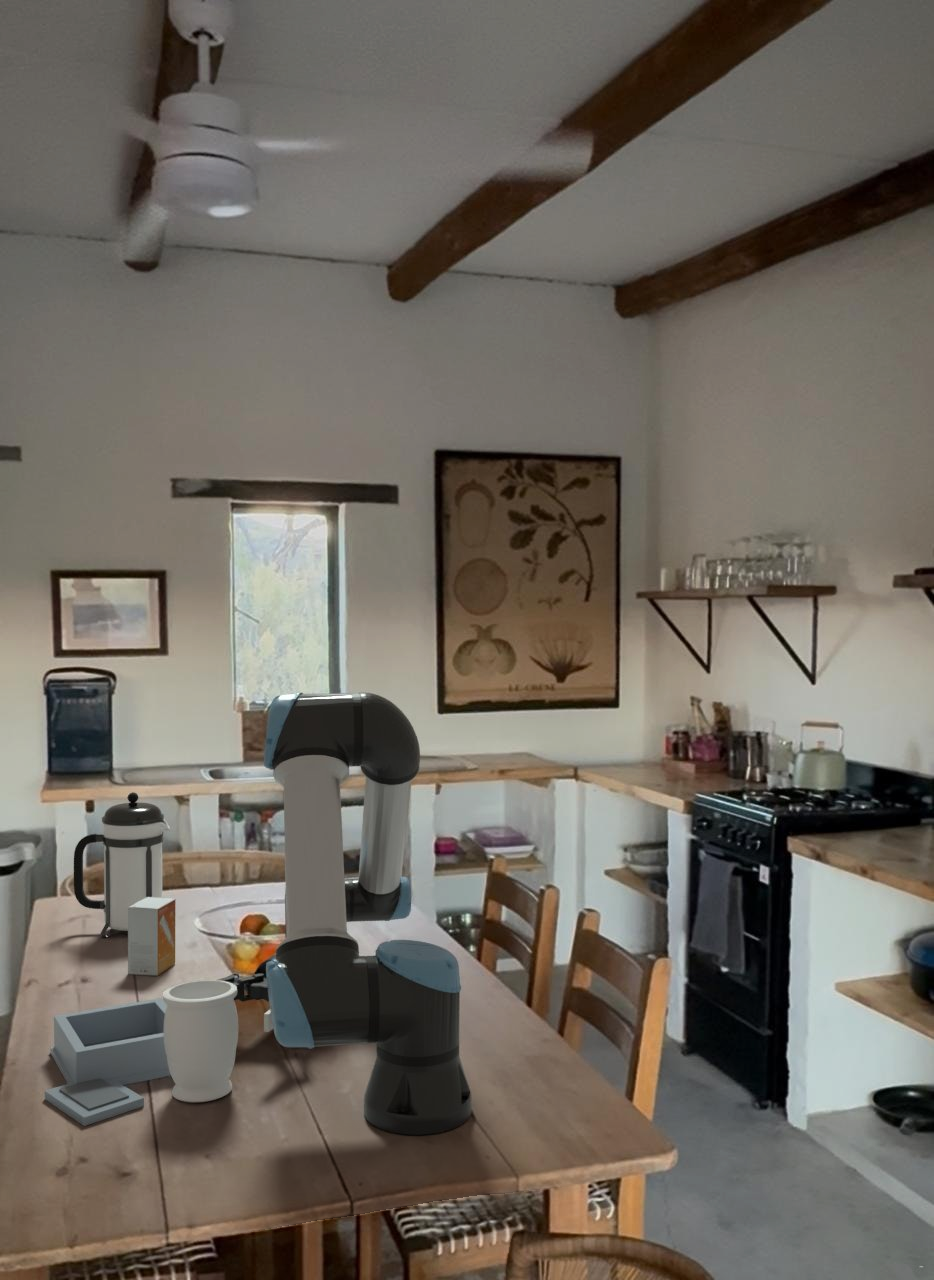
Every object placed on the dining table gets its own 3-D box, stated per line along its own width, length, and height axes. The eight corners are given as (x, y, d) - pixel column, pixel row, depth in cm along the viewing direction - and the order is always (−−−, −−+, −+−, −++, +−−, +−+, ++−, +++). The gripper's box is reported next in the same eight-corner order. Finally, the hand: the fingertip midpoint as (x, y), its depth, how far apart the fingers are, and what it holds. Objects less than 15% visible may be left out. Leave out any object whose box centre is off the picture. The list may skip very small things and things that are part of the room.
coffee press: (146, 916, 264) (146, 784, 263) (182, 931, 252) (181, 793, 251) (72, 931, 252) (71, 792, 251) (105, 947, 241) (105, 802, 240)
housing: (196, 1070, 179) (195, 1031, 178) (73, 1095, 170) (73, 1054, 169) (163, 1032, 194) (163, 996, 194) (50, 1052, 185) (50, 1015, 185)
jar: (169, 1112, 164) (167, 1005, 164) (160, 1085, 173) (158, 984, 173) (245, 1099, 168) (243, 995, 168) (232, 1073, 177) (230, 975, 177)
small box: (158, 976, 223) (157, 908, 222) (127, 974, 224) (126, 906, 223) (176, 963, 231) (176, 897, 230) (146, 961, 232) (146, 896, 231)
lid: (143, 1106, 166) (143, 1095, 166) (84, 1126, 160) (84, 1115, 160) (103, 1081, 175) (102, 1071, 174) (44, 1099, 168) (44, 1088, 168)
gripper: (352, 1004, 195) (301, 1051, 174) (216, 990, 201) (151, 1034, 181) (352, 959, 194) (301, 1001, 174) (216, 946, 201) (151, 986, 180)
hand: (224, 1018), depth 177 cm, fingers open, 13 cm apart
